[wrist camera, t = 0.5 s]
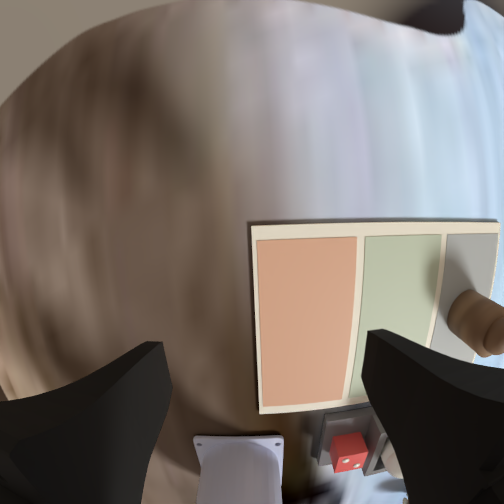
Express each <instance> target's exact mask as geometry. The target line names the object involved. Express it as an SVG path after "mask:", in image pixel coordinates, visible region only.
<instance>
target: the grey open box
mask: <svg viewBox="0 0 504 504" xmlns="http://www.w3.org/2000/svg"><path fill="white" fill-rule="evenodd" d="M387 437H388V436H387V434H386V432H385V430H384V428H383V426H382V424H381V422H380V420H379V418H378V417H377V415H376V413H375V411H374V409H373V407H372V406H371V407H366V408H361V409H355V410H349V411H343V412H336V413H329V414H324V421H323V427H322V433H321V439H320V445H319V451H318V456H317V462H318V466H324V465H330V464H332V465H333V469H334V473H338V472H343V471H349V470H353V469H358V468H362V471H363V474H364V476H369V475H373V474H377V473H380V472H384V471H387V470H386V468H385V466H384V464H383V461H382V459H381V456H380V454H381V451H382V449H383V446H384V444H385V441H386V438H387Z"/></svg>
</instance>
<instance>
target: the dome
mask: <svg viewBox="0 0 504 504" xmlns="http://www.w3.org/2000/svg"><path fill="white" fill-rule="evenodd" d="M380 456H381V459H382V461H383V464H384V466H385V468H386V470H387V471H388V473H389V474H391V475H392V476H394V477H396V478H400V479H403V476H402V472H401V469H400V466H399V463H398V460H397V457H396V454H395V451H394V449H393V446H392V444H391V442H390V440H389V438H388V437H387V438H386V441H385V444H384V446H383V449H382V451H381V454H380Z"/></svg>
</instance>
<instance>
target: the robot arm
mask: <svg viewBox="0 0 504 504" xmlns="http://www.w3.org/2000/svg"><path fill="white" fill-rule="evenodd" d="M361 379H362V382H363V385H364V388H365V391H366V394H367V397H368V399H369V401H370V403H371V405H372V407H373V409H374V411H375V413H376V415H377V417H378V418H379V420H380V422H381V424H382V426H383V428H384V430H385V432H386V434H387V436H388V438H389V440H390V442H391V444H392V446H393V449H394V451H395V454H396V457H397V460H398V463H399V466H400V469H401V472H402V476H403V479H404V483H405V486H406V490H407V495H408V499H409V504H504V369H502V368H495V367H488V366H483V365H478V364H474V363H470V362H466V361H462V360H459V359H456V358H453V357H450V356H447V355H444V354H442V353H439V352H437V351H434V350H432V349H429V348H427V347H425V346H422V345H420V344H418V343H416V342H414V341H411V340H409V339H407V338H405V337H403V336H400V335H398V334H396V333H394V332H391V331H389V330H386V329H376V330H369V331H367V337H366V345H365V353H364V359H363V366H362V372H361ZM172 388H173V387H172V383H171V378H170V374H169V370H168V365H167V361H166V356H165V351H164V347H163V342H153V341H146V342H144V343H142V344H140V345H139V346H137V347H135V348H134V349H132V350H130V351H129V352H127V353H125V354H124V355H122V356H121V357H119V358H117V359H116V360H114V361H113V362H111V363H109V364H108V365H106V366H104V367H102V368H101V369H99V370H97V371H95V372H93V373H92V374H90V375H88V376H86V377H84V378H82V379H80V380H78V381H76V382H73V383H71V384H68V385H66V386H64V387H61V388H58V389H55V390H52V391H49V392H46V393H42V394H39V395H35V396H31V397H27V398H22V399H16V400H10V401H1V402H0V504H141V499H142V493H143V487H144V482H145V477H146V473H147V468H148V464H149V461H150V457H151V454H152V451H153V449H154V446H155V443H156V441H157V438H158V435H159V433H160V430H161V427H162V425H163V422H164V419H165V417H166V414H167V411H168V407H169V403H170V398H171V393H172ZM193 442H194V446H195V449H196V453H197V456H198V459H199V463H200V466H201V473H200V479H199V486H198V492H197V498H196V504H282V495H281V485H282V466H283V444H284V439H283V436H281V435H271V436H238V437H230V436H194V438H193ZM200 443H201V444H200Z"/></svg>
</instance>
